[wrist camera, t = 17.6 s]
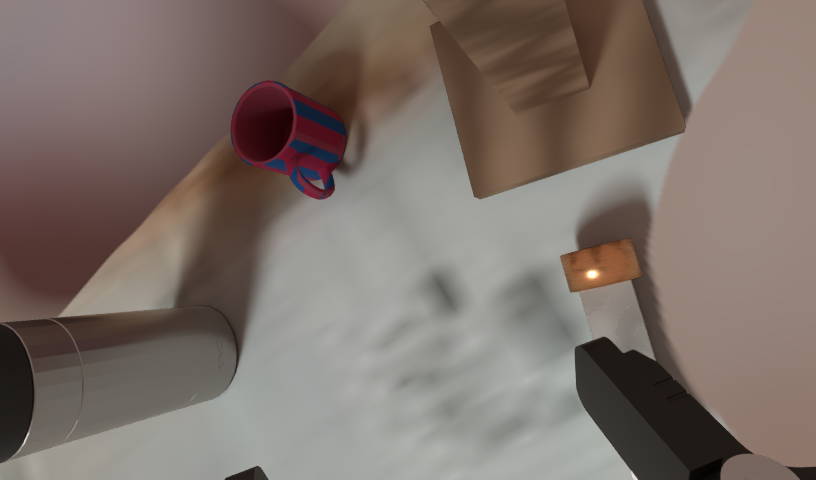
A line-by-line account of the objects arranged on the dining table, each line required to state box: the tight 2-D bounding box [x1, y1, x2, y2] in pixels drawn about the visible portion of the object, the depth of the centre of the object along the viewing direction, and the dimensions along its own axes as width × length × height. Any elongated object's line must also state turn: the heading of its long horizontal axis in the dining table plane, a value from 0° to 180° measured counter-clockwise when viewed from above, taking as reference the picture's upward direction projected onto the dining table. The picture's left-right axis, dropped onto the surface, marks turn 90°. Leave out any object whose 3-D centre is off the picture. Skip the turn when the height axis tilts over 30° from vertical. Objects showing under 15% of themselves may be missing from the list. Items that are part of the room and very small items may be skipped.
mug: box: [231, 81, 346, 200], centre depth 40 cm, size 7×10×7 cm
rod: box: [560, 238, 657, 480], centre depth 30 cm, size 4×22×4 cm, turn 14°
